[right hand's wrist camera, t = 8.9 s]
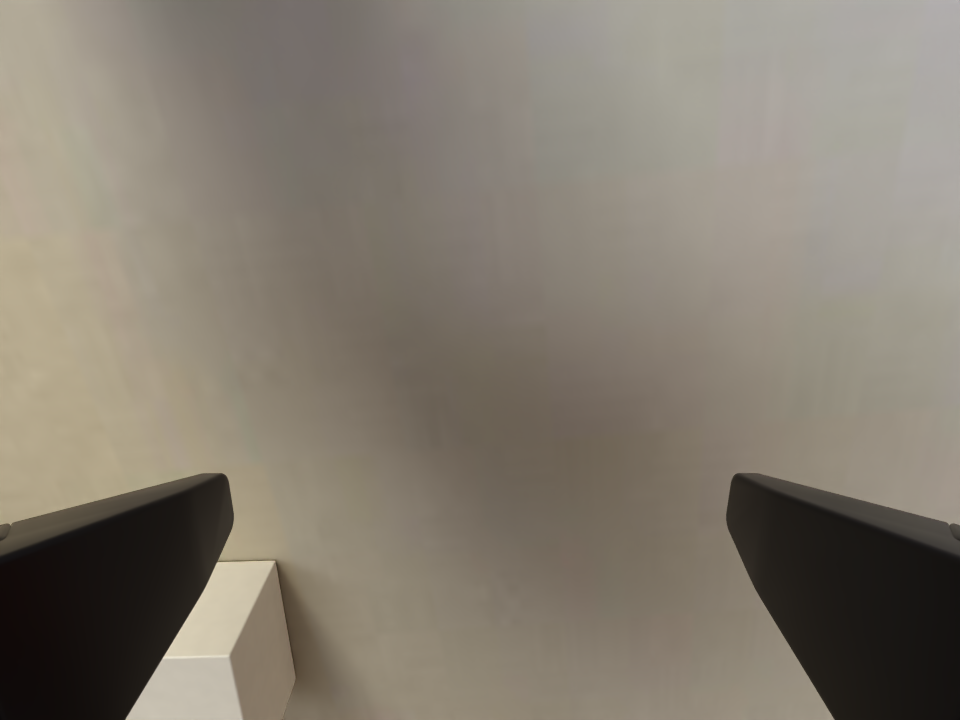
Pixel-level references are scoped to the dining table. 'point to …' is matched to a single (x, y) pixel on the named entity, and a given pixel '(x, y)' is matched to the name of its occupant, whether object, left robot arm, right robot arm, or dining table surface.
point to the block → (226, 653)
